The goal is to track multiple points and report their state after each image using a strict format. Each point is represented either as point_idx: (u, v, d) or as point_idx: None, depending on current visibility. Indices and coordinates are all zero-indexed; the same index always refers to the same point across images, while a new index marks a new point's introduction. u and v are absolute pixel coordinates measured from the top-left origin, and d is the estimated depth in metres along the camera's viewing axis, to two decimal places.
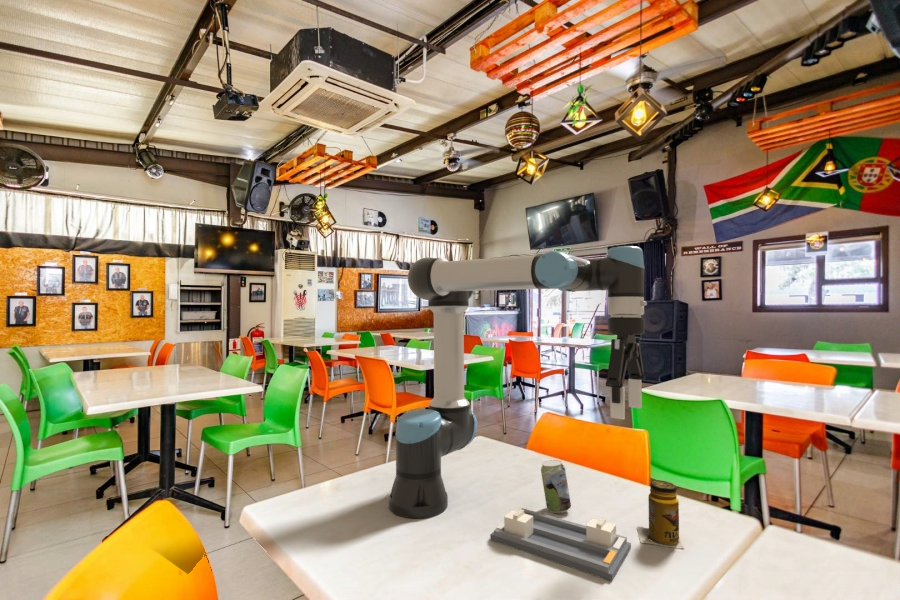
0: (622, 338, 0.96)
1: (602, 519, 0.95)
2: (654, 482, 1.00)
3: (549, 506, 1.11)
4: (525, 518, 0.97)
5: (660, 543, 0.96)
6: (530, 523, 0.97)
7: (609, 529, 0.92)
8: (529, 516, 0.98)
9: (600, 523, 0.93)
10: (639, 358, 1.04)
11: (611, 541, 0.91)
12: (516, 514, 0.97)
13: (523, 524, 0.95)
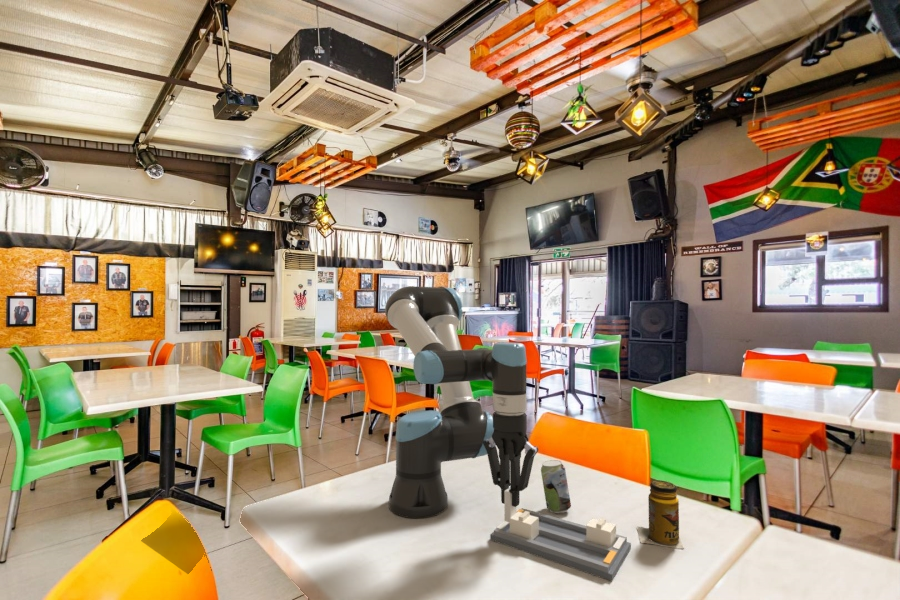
0: None
1: (602, 519, 0.95)
2: (654, 482, 1.00)
3: (549, 506, 1.11)
4: (531, 520, 0.96)
5: (660, 543, 0.96)
6: (536, 525, 0.96)
7: (609, 529, 0.92)
8: (535, 518, 0.97)
9: (600, 523, 0.93)
10: (522, 468, 0.97)
11: (611, 541, 0.91)
12: (522, 516, 0.96)
13: (529, 526, 0.94)
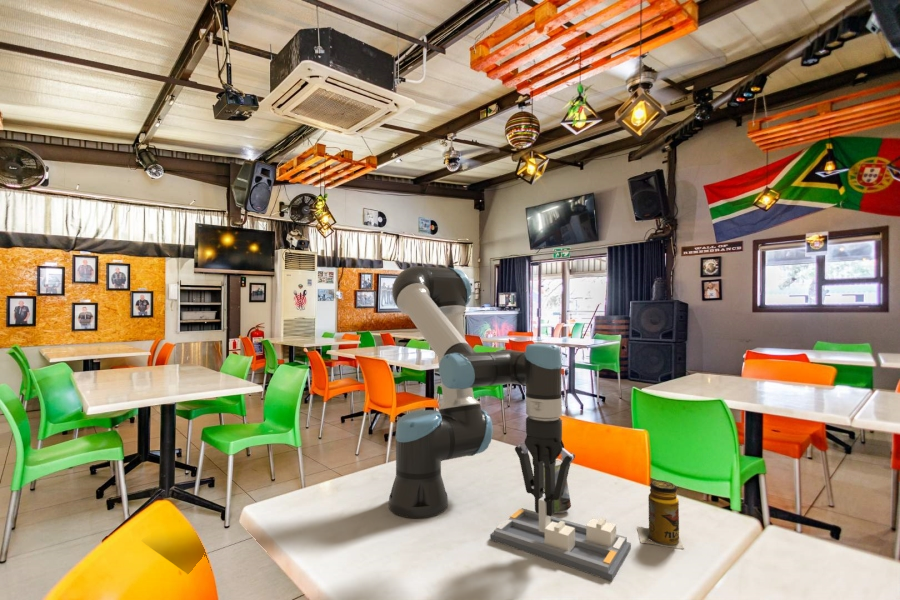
0: None
1: (602, 519, 0.95)
2: (654, 482, 1.00)
3: None
4: (567, 530, 0.91)
5: (660, 543, 0.96)
6: (572, 536, 0.92)
7: (609, 529, 0.92)
8: (571, 528, 0.93)
9: (600, 523, 0.93)
10: (558, 476, 0.92)
11: (611, 541, 0.91)
12: (557, 526, 0.92)
13: (566, 537, 0.90)
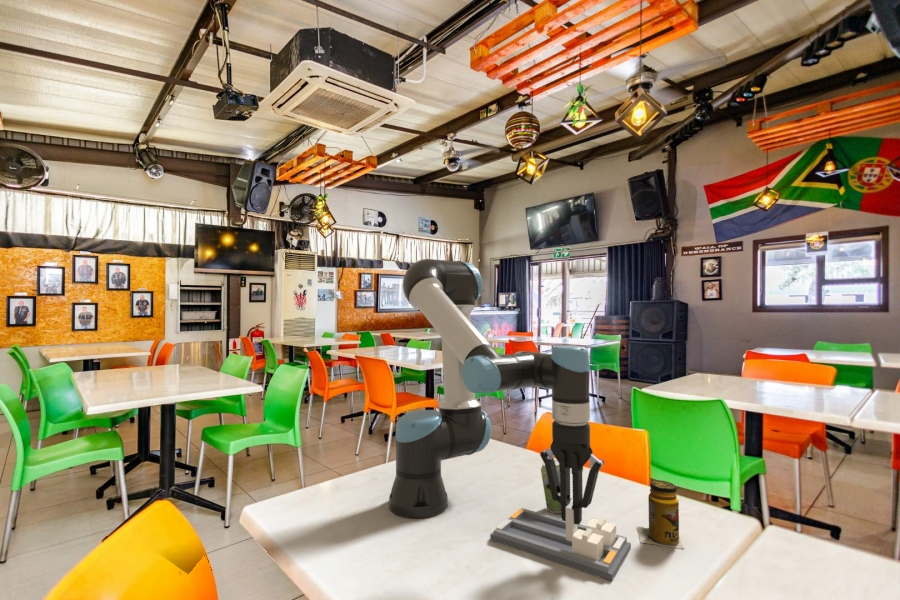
0: None
1: (602, 519, 0.95)
2: (654, 482, 1.00)
3: (549, 506, 1.11)
4: (595, 539, 0.88)
5: (660, 543, 0.96)
6: (601, 544, 0.88)
7: (609, 529, 0.92)
8: (599, 536, 0.89)
9: (600, 523, 0.93)
10: (586, 483, 0.89)
11: (611, 541, 0.91)
12: (585, 534, 0.88)
13: (595, 546, 0.86)
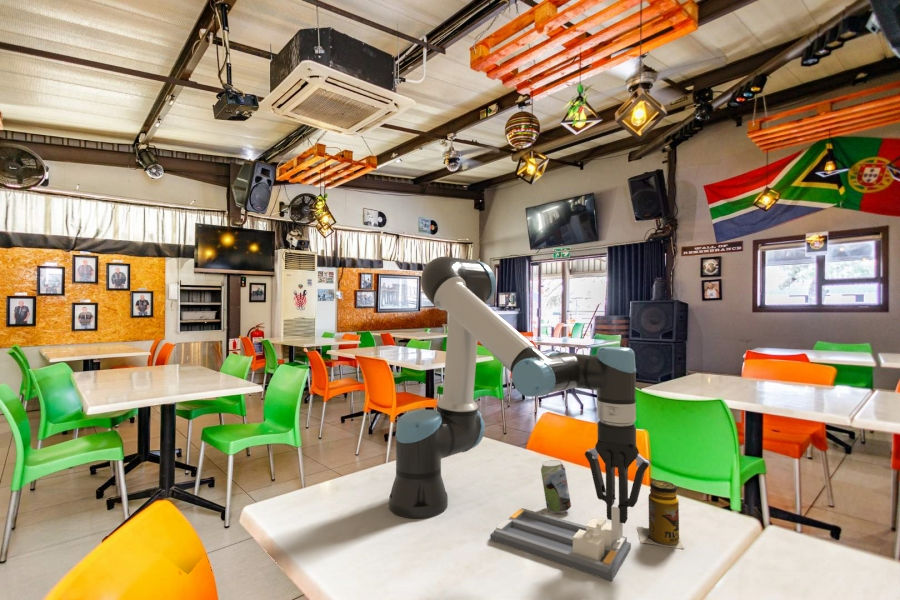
0: None
1: (602, 519, 0.95)
2: (654, 482, 1.00)
3: (549, 506, 1.11)
4: (597, 539, 0.88)
5: (660, 543, 0.96)
6: (602, 544, 0.88)
7: (609, 529, 0.92)
8: (600, 536, 0.89)
9: (600, 523, 0.93)
10: (633, 482, 0.90)
11: (611, 541, 0.91)
12: (586, 534, 0.88)
13: (596, 546, 0.86)
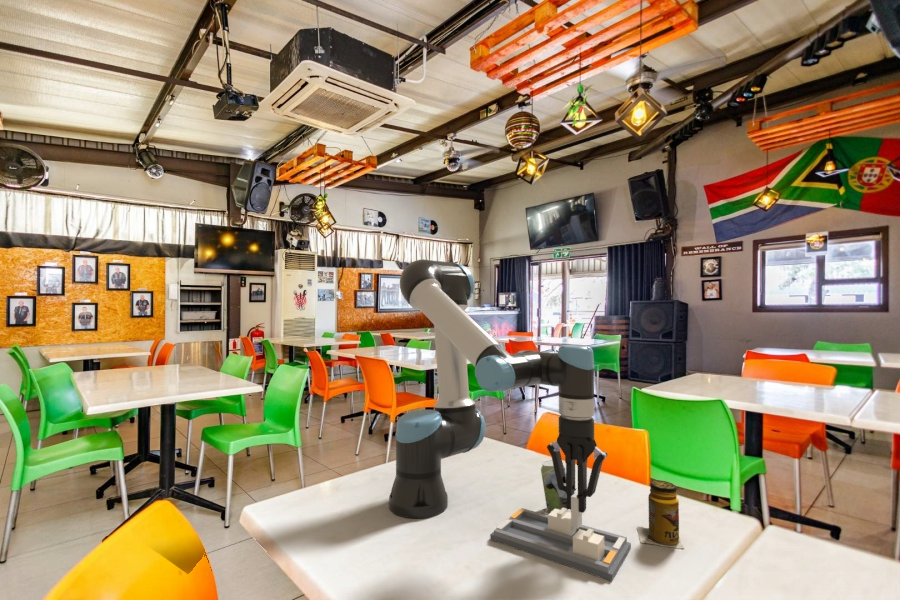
0: None
1: (563, 509, 1.00)
2: (654, 482, 1.00)
3: (549, 506, 1.11)
4: (597, 539, 0.88)
5: (660, 543, 0.96)
6: (602, 544, 0.88)
7: (569, 518, 0.97)
8: (600, 536, 0.89)
9: (561, 512, 0.98)
10: (591, 473, 0.95)
11: (570, 529, 0.96)
12: (586, 534, 0.88)
13: (596, 546, 0.86)
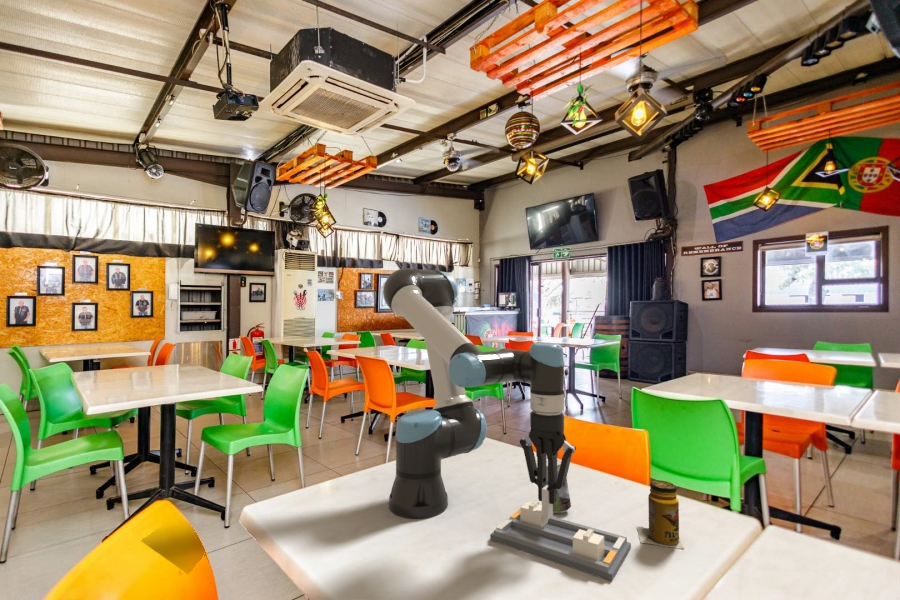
0: None
1: (535, 501, 1.04)
2: (654, 482, 1.00)
3: None
4: (597, 539, 0.88)
5: (660, 543, 0.96)
6: (602, 544, 0.88)
7: (540, 510, 1.01)
8: (600, 536, 0.89)
9: (532, 505, 1.02)
10: (560, 466, 0.98)
11: (541, 521, 1.00)
12: (586, 534, 0.88)
13: (596, 546, 0.86)
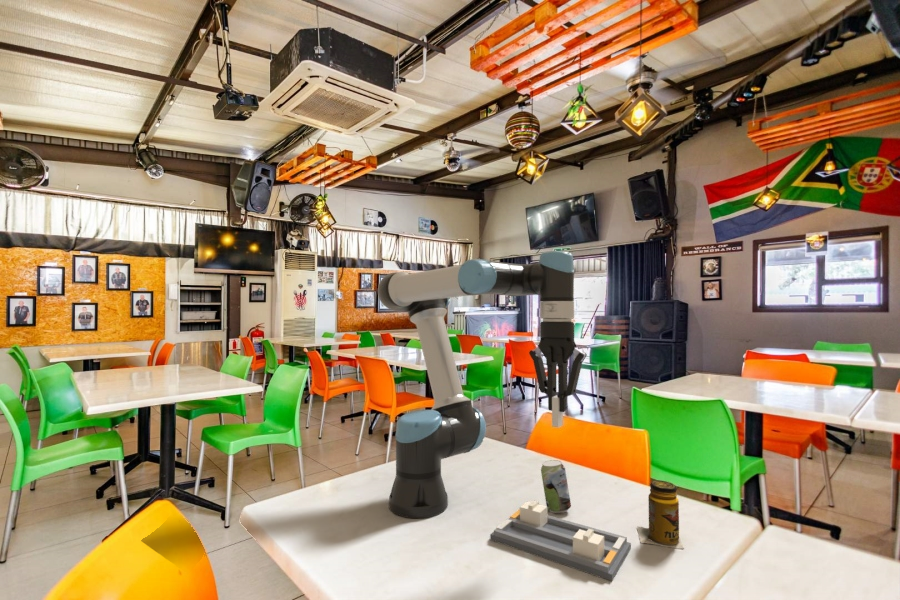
0: None
1: (535, 501, 1.04)
2: (654, 482, 1.00)
3: (549, 506, 1.11)
4: (597, 539, 0.88)
5: (660, 543, 0.96)
6: (602, 544, 0.88)
7: (540, 510, 1.01)
8: (600, 536, 0.89)
9: (532, 505, 1.02)
10: (571, 373, 0.98)
11: (541, 521, 1.00)
12: (586, 534, 0.88)
13: (596, 546, 0.86)
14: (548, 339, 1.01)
